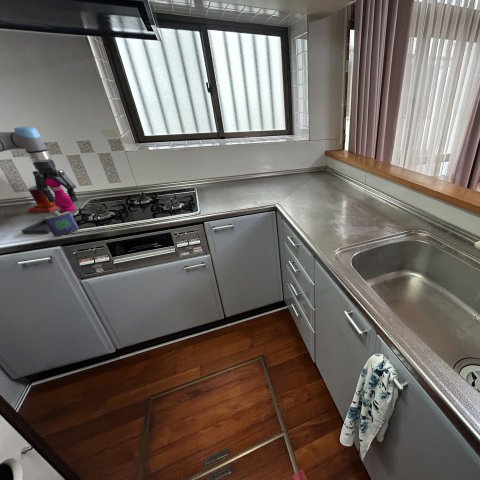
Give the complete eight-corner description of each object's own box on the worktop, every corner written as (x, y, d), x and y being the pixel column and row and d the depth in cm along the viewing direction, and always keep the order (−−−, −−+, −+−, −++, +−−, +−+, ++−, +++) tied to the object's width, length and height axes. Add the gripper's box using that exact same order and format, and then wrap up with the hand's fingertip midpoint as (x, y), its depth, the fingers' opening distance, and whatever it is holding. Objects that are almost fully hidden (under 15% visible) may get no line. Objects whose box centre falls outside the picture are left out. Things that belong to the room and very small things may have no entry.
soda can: (45, 205, 151) (34, 184, 145) (59, 204, 152) (48, 184, 146) (36, 210, 145) (23, 189, 139) (50, 209, 146) (38, 188, 140)
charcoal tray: (23, 233, 123) (21, 230, 122) (44, 223, 132) (42, 219, 131) (47, 233, 123) (45, 229, 122) (67, 222, 133) (65, 219, 132)
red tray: (29, 212, 144) (27, 209, 143) (47, 204, 153) (45, 201, 153) (50, 212, 144) (48, 209, 143) (66, 204, 154) (65, 201, 153)
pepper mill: (69, 213, 143) (50, 176, 132) (56, 213, 143) (35, 176, 133) (80, 207, 149) (62, 172, 139) (67, 207, 149) (49, 172, 139)
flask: (78, 227, 127) (67, 207, 122) (80, 229, 126) (69, 208, 120) (53, 235, 121) (40, 214, 115) (55, 237, 119) (42, 215, 114)
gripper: (10, 162, 129) (35, 204, 140) (59, 162, 129) (80, 203, 140) (25, 159, 135) (48, 199, 146) (72, 158, 135) (91, 198, 146)
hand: (64, 201), depth 143 cm, fingers open, 11 cm apart
